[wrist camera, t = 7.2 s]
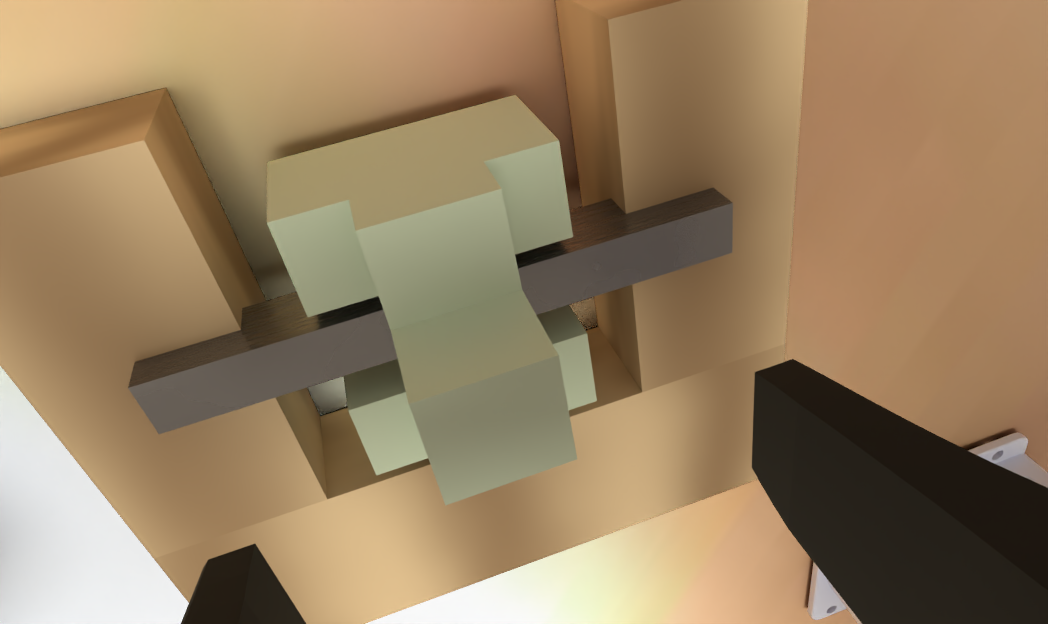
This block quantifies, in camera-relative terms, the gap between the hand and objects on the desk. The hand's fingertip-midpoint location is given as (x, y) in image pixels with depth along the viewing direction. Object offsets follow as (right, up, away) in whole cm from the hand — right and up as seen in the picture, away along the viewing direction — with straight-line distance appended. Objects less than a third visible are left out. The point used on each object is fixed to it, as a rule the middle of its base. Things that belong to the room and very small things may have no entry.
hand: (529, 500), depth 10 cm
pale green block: (-2, +4, +6) cm, 8 cm away
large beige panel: (-2, +3, +8) cm, 9 cm away
